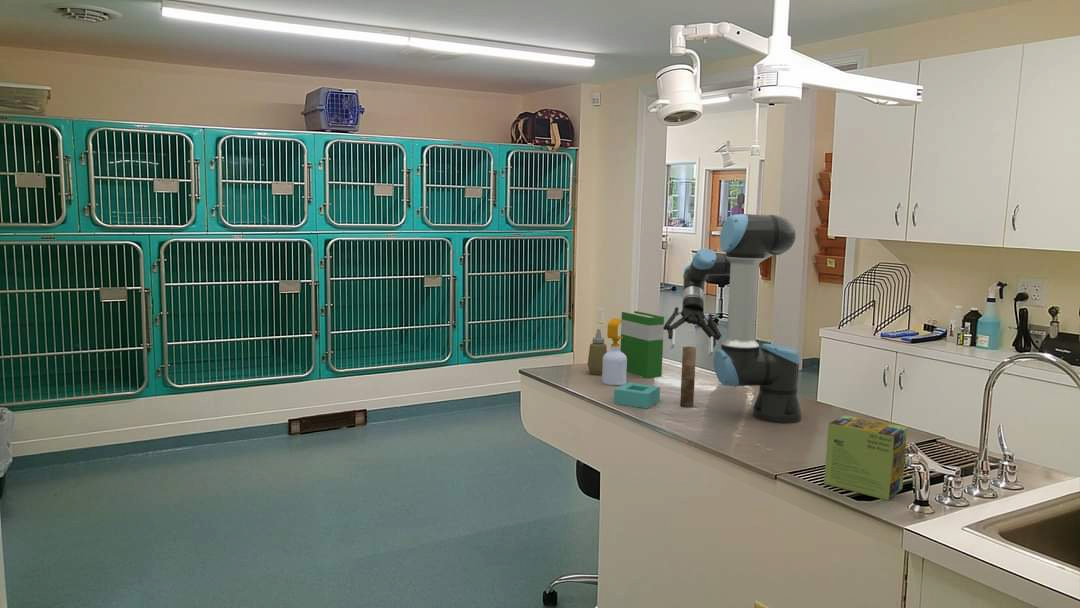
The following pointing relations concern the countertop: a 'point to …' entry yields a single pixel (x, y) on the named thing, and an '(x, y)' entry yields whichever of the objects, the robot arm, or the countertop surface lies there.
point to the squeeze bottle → (596, 354)
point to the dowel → (688, 377)
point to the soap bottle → (614, 358)
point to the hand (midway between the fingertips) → (691, 350)
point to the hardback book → (642, 343)
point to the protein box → (865, 456)
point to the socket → (637, 395)
